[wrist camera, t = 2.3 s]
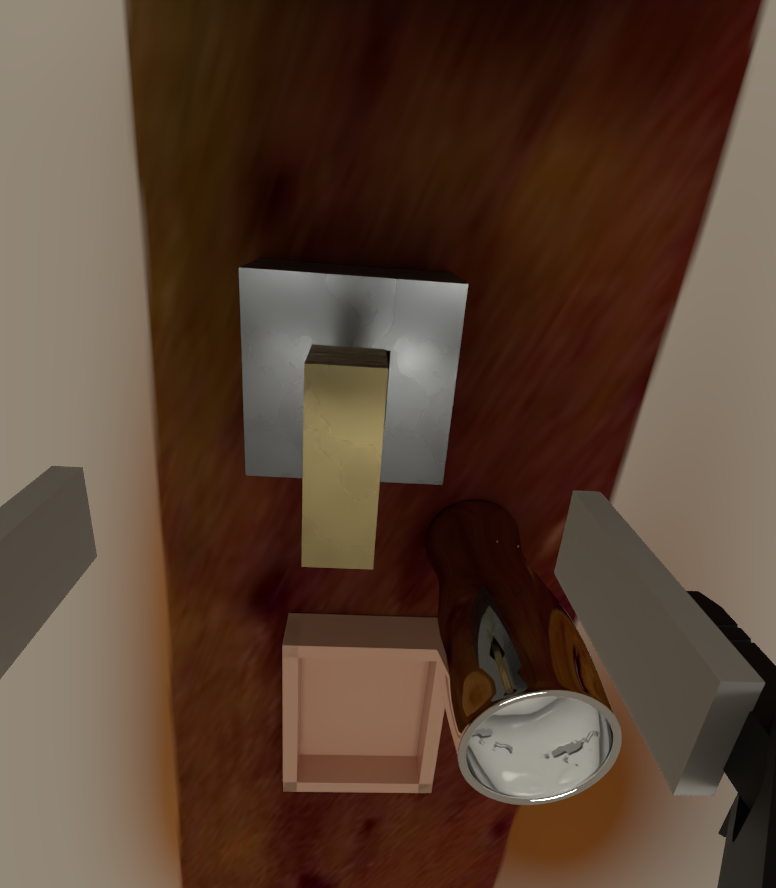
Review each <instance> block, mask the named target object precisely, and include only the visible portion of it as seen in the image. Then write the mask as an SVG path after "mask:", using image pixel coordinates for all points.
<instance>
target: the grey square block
mask: <svg viewBox="0 0 776 888" xmlns="http://www.w3.org/2000/svg"><path fill="white" fill-rule="evenodd" d="M467 290H468V284H467V283H466V282H464V281H463V280H462V279H460V278H459V277H457V276H456V275H454V274H453V273H451V272H437V271H424V270H410V269H397V268H383V267H370V266H356V265H343V264H329V263H316V262H302V261H289V260H276V259H262V258H259V259H257V260H255V261H252V262H250V263H248V264H245V265H243V266H241V267H239V291H240V321H241V350H242V379H243V409H244V438H245V468H246V475H250V476H271V477H291V478H303V420H304V363H305V360H306V358H307V355H308V353H309V350H310V348H311V346H312V344H314V345H330V346H345V347H361V348H376V349H385V350H386V356H387V363H388V379H387V392H386V405H385V418H384V431H383V444H382V457H381V470H380V482H395V483H416V484H436V485H443V477H444V469H445V461H446V454H447V446H448V438H449V430H450V422H451V415H452V407H453V399H454V391H455V383H456V376H457V368H458V360H459V352H460V344H461V337H462V329H463V321H464V313H465V306H466V298H467Z"/></svg>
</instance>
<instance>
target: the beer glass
mask: <svg viewBox="0 0 776 888" xmlns="http://www.w3.org/2000/svg"><path fill="white" fill-rule="evenodd" d="M425 545H426V552H427V556H428V559H429V561H430V563H431V565H432V567H433V569H434V571H435V573H436V575H437V577H438V581H439V604H438V619H437V661H438V670H439V678H440V684H441V690H442V695H443V700H444V705H445V709H446V713H447V717H448V721H449V725H450V729H451V733H452V736H453V740H454V744H455V748H456V752H457V756H458V764H459V768H460V770H461V773H462V775H463V776H464V778H465V779H466V781H467V782H468V783H469V784H470V785H471V786H472V787H473V788H474V789H475V790H477V791H478V792H480V793H481V794H483V795H485V796H487V797H489V798H491V799H494V800H497V801H500V802H504V803H509V804H517V805H537V804H545V803H550V802H555V801H559V800H562V799H565V798H568V797H571V796H573V795H576V794H578V793H580V792H582V791H583V790H586V789H587V788H589V787H590V786H592V785H593V784H595V783H596V782H597V781H599V780H600V779H601V778H602V777H603V776H604V775H605V774H606V773H607V772H608V771H609V770H610V768H611V767H612V766H613V764H614V762H615V761H616V759H617V757H618V754H619V752H620V748H621V742H622V735H621V729H620V725H619V723H618V720H617V718H616V717H615V715H614V713H613V710H612V708H611V705H610V703H609V700H608V698H607V695H606V692H605V690H604V687H603V685H602V682H601V680H600V677H599V675H598V672H597V670H596V667H595V665H594V663H593V661H592V658H591V656H590V654H589V652H588V650H587V648H586V645H585V643H584V641H583V639H582V638H581V636H580V634H579V632H578V630H577V629H576V627H575V625H574V623H573V621H572V620H571V618H570V616H569V615H568V614H567V612H566V611H565V609H564V608H563V607H562V605H561V604H560V602H559V601H558V600H557V598H556V597H555V596H554V595H553V593H552V592H551V591H550V590H549V588H548V587H547V586H546V585H545V583H544V582H543V581H542V580H541V579H540V577H539V576H538V575H537V574H536V573H535V572H534V570H533V569H532V568H531V566H530V565H529V564H528V563H527V561H526V559H525V558H524V555H523V553H522V549H521V542H520V535H519V531H518V528H517V525H516V523H515V521H514V519H513V518H512V517H511V515H510V514H509V513H508V512H507V511H506V510H504V509H503V508H501V507H500V506H498V505H496V504H493V503H491V502H487V501H480V500H472V501H465V502H461V503H458V504H455V505H453V506H450V507H449V508H447V509H445V510H444V511H443V512H441V513H440V514H439V515H438V516H437V517H436V518H435V519H434V521H433V522H432V524H431V525H430V527H429V529H428V532H427V536H426V544H425Z"/></svg>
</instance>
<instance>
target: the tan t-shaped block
mask: <svg viewBox="0 0 776 888" xmlns="http://www.w3.org/2000/svg"><path fill="white" fill-rule="evenodd" d="M387 379H388V363H387V356H386V350H385V349H376V348H361V347H345V346H330V345H314V344H312V346H311V348H310V350H309V353H308V355H307V358H306V360H305V363H304V420H303V499H302V567H323V568H350V569H373V562H374V549H375V536H376V523H377V510H378V497H379V483H380V470H381V457H382V444H383V431H384V418H385V405H386V392H387Z"/></svg>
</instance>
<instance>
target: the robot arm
mask: <svg viewBox="0 0 776 888" xmlns="http://www.w3.org/2000/svg"><path fill="white" fill-rule="evenodd" d="M96 557H97V554H96V548H95V542H94V535H93V529H92V523H91V517H90V510H89V505H88V498H87V492H86V486H85V479H84V473H83V468H82V467H61V466H51V467H50V468H49V469H48V470H46V471H45V472H44V473H43V474H41V475H40V476H39V477H38V478H36V479H35V480H34V481H33V482H31V483H30V484H29V485H28V486H26V487H25V488H24V489H23V490H21V491H20V492H19V493H17V494H16V495H15V496H14V497H12V498H11V499H10V500H9V501H7V502H6V503H5V504H4V505H2V506H1V507H0V679H1V677H2V676H3V675H4V674H5V672H6V671H7V670H8V668H9V667H10V666H11V665H12V663H13V662H14V661H15V660H16V658H17V657H18V656H19V655H20V653H21V652H22V651H23V650H24V648H25V647H26V646H27V644H28V643H29V642H30V641H31V639H32V638H33V637H34V636H35V634H36V633H37V632H38V631H39V629H40V628H41V627H42V625H43V624H44V623H45V622H46V620H47V619H48V618H49V617H50V615H51V614H52V613H53V611H54V610H55V609H56V608H57V606H58V605H59V604H60V603H61V601H62V600H63V599H64V598H65V596H66V595H67V594H68V592H69V591H70V590H71V588H72V587H73V586H74V585H75V584H76V582H77V581H78V580H79V578H80V577H81V576H82V575H83V573H84V572H85V571H86V570H87V568H88V567H89V566H90V565H91V563H92V562H93V561H94V559H95V558H96ZM554 574H555V575H556V577H557V579H558V581H559V583H560V585H561V587H562V588H563V590H564V592H565V594H566V596H567V598H568V600H569V601H570V603H571V605H572V607H573V609H574V611H575V613H576V614H577V616H578V618H579V620H580V622H581V624H582V626H583V628H584V629H585V631H586V633H587V635H588V637H589V639H590V641H591V642H592V644H593V646H594V648H595V650H596V652H597V653H598V655H599V657H600V659H601V661H602V663H603V665H604V667H605V668H606V670H607V672H608V674H609V676H610V678H611V680H612V681H613V683H614V685H615V687H616V689H617V691H618V693H619V694H620V696H621V698H622V700H623V702H624V704H625V706H626V708H627V709H628V711H629V713H630V715H631V717H632V719H633V721H634V722H635V724H636V726H637V728H638V730H639V732H640V734H641V735H642V737H643V739H644V741H645V743H646V745H647V747H648V748H649V750H650V752H651V754H652V756H653V758H654V760H655V761H656V763H657V765H658V767H659V768H660V771H661V773H662V774H663V776H664V778H665V780H666V782H667V784H668V786H669V787H670V789H671V791H672V793H673V795H714V793H715V791H716V789H717V787H718V785H719V782H720V780H721V778H722V776H723V774H724V772H725V773H726V775H727V776H728V778H729V779H730V781H731V783H732V784H733V786H734V787H735V789H736V790H737V792H738V794H737V796H736V798H735V800H734V802H733V804H732V806H731V808H730V810H729V812H728V815H727V817H726V819H725V821H724V823H723V825H722V827H721V829H720V831H719V834H720V835H722V836H724V837H726V842H725V848H724V853H723V859H722V865H721V871H720V876H719V882H718V888H776V666H775V665H774V664H773V663H772V662H771V660H770V659H769V658H768V657H767V656H766V655H765V654H764V653H763V652H762V651H761V650H760V648H759V647H757V645H756V644H755V643H751V639H750V638H749V637H748V635H746V633H745V632H744V631H743V630H742V629H741V628H738V627H737V624H736V622H735V621H734V620H733V619H732V618H731V617H730V616H729V615H728V614H727V613H726V612H725V610H724V609H723V608H722V607H721V606H719V605H718V604H716V603H715V602H713V601H712V600H710V599H709V598H707V597H706V596H705V595H703V594H701V593H700V592H698V591H686V590H685V589H684V588H683V587H682V586H681V585H680V583H679V582H678V581H677V580H676V579H675V578H674V576H673V575H672V574H671V573H670V572H669V571H668V569H667V568H666V567H665V566H664V565H663V564H662V563H661V561H660V560H659V559H658V558H657V557H656V556H655V554H654V553H653V552H652V551H651V550H650V549H649V548H648V546H647V545H646V544H645V543H644V542H643V541H642V539H641V538H640V537H639V536H638V535H637V534H636V533H635V531H634V530H633V529H632V528H631V527H630V526H629V524H628V523H627V522H626V521H625V520H624V519H623V518H622V516H621V515H620V514H619V513H618V512H617V511H616V509H615V508H614V507H613V506H612V505H611V504H610V502H609V501H608V500H607V499H606V498H605V497H604V496H603V494H602V493H601V492H594V491H573V494H572V499H571V503H570V507H569V512H568V516H567V520H566V524H565V529H564V533H563V537H562V542H561V546H560V550H559V554H558V559H557V563H556V567H555V572H554Z"/></svg>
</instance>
